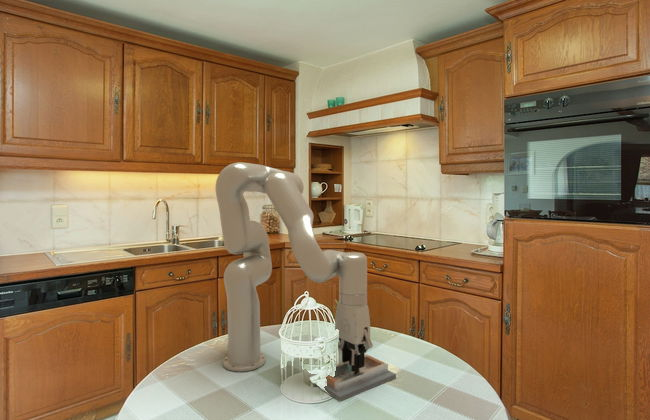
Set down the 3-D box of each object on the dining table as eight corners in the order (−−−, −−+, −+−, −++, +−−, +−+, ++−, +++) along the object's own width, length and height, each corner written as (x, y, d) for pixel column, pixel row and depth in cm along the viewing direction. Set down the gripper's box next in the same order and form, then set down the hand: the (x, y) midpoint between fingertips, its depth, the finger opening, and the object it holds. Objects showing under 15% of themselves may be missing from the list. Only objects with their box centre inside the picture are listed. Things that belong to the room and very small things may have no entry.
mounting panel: (309, 381, 107) (309, 377, 107) (363, 362, 119) (363, 358, 119) (339, 401, 97) (339, 396, 97) (395, 378, 109) (395, 373, 109)
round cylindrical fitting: (361, 381, 104) (362, 344, 104) (341, 377, 106) (342, 341, 105) (365, 369, 111) (366, 335, 110) (346, 367, 112) (347, 332, 111)
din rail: (316, 378, 106) (316, 370, 106) (366, 361, 117) (366, 354, 117) (337, 392, 99) (337, 383, 99) (388, 372, 110) (388, 364, 110)
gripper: (323, 294, 112) (323, 357, 113) (364, 308, 98) (363, 380, 99) (343, 290, 116) (343, 351, 117) (385, 302, 103) (385, 371, 104)
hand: (353, 363), depth 108 cm, fingers closed on round cylindrical fitting, 4 cm apart
